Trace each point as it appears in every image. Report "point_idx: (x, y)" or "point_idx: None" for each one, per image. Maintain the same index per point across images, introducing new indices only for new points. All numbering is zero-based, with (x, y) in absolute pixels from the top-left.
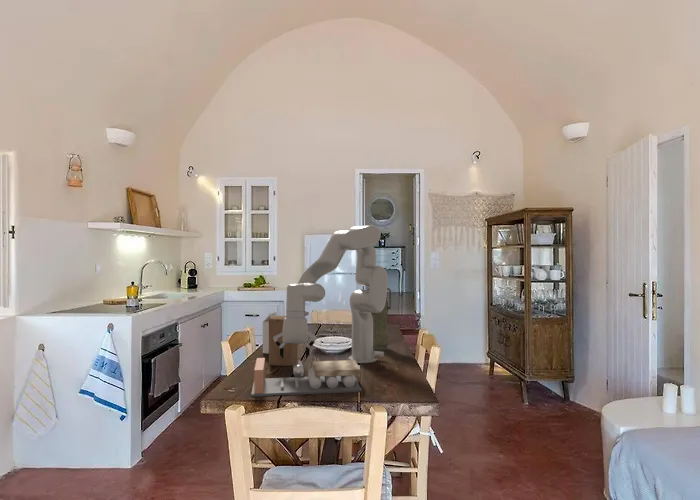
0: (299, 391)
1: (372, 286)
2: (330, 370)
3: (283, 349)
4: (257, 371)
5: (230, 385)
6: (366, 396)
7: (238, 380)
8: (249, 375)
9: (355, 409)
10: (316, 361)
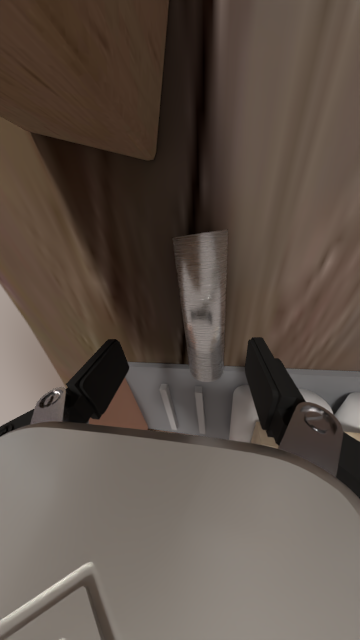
0: (207, 435)
1: None
2: None
3: (105, 411)
4: None
5: (71, 376)
6: None
7: (63, 351)
8: (60, 315)
9: None
10: (277, 447)
